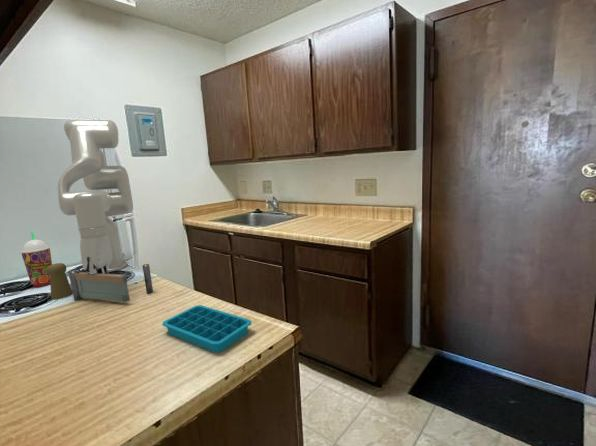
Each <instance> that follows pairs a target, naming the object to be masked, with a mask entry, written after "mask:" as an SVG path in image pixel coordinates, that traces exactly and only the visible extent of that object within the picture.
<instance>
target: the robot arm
mask: <svg viewBox="0 0 596 446" xmlns="http://www.w3.org/2000/svg"><path fill="white" fill-rule="evenodd" d="M63 129H64V133H65V135H66V137H67V139H68V141H69V144H70V153H71V154H70V156H71V164H70V165H69V166H68V167H67V168H66V169H65V170H64V171H63V172H62V174H61V175H60V177H59V179H58V182H57V196H58V198H57V199H58V205H59V209H60V211H61V213H62V214H64V215H67V216H75V217H76V218H75V219H76V222H77V228H78V233H79V238H80V243H79V248H80V249H79V250H80V258H81V264H82V265H81V266H82V268H83V270H84V271H89V273H90V275H93V274H96V273H101V274H110V272H115V271H119V270H122V269H125V268H126V267H128V266H129V265H128V264H129V263H128V262H127V261H125V260H124V259H123V258H125V257H126V254H125V253H124V252H123V251H122V247H121V240H120V236H119V229H118V228H119V227H118V225H117V224H116V223H115V221H113V220H112V219H111V218H110V217H112V216H113V217H114V216H119V215H120V216H121V215H122V216H123V215H128V214H130V213H132V212H133V210H134V201H133V196H132V195H133V194H132V190H131V184H130V178H129V174H128V171H127V169H126V168H125V167H124V166H123V165H107V163H106V160H105V159H106V158H105V154H104V152H103V150H104V149H115V148H117V147H118V145H119V129H118V125H117V124H116V122H115V121H113V120H109V119H72V120H68V121H66V122H65V123H64V125H63ZM101 149H103V150H101ZM81 179H83V184H84V186H85V188H86V189H88V190H81V191H80V190H79V191H71V190H70V188H71V187H72V186H73V185H74V184H75V183H76V182H78V181H79V180H81ZM105 190H106V191H105ZM107 190H118V191H115V192H107ZM70 191H71V192H70ZM122 252H123V253H122Z"/></svg>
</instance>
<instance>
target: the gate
mask: <svg viewBox="0 0 596 446" xmlns="http://www.w3.org/2000/svg"><path fill="white" fill-rule="evenodd" d="M75 278H76V280H77V285H78V290H79V295H80V298H83V299H91V300H92V299H94V300H103V301H112V302H122V303H127V302H130V299H131V298H130V294H129V287H128V279H127V278H128V277H127V275H126V274H112V273H108V274H101V273H96V274H93V275H90V272H83V271H78V273H76V274H75Z"/></svg>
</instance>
